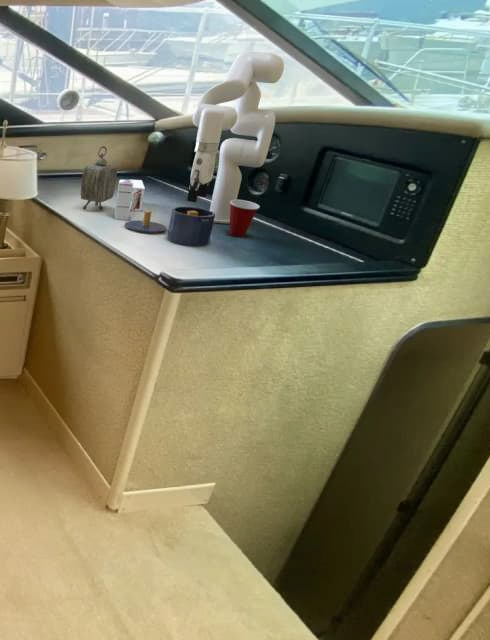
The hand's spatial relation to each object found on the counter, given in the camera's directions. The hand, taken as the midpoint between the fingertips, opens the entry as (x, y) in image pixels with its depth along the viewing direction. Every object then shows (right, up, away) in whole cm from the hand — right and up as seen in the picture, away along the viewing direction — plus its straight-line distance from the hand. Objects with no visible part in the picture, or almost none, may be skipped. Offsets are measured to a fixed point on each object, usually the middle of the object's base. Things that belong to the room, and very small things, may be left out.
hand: (196, 199), depth 211 cm
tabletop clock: (-29, +8, +44) cm, 53 cm away
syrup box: (-20, +2, +32) cm, 38 cm away
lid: (-14, -5, +18) cm, 23 cm away
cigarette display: (-11, +12, +52) cm, 55 cm away
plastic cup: (+21, -9, +18) cm, 29 cm away
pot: (-1, -13, +7) cm, 15 cm away
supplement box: (-1, -13, +6) cm, 14 cm away
